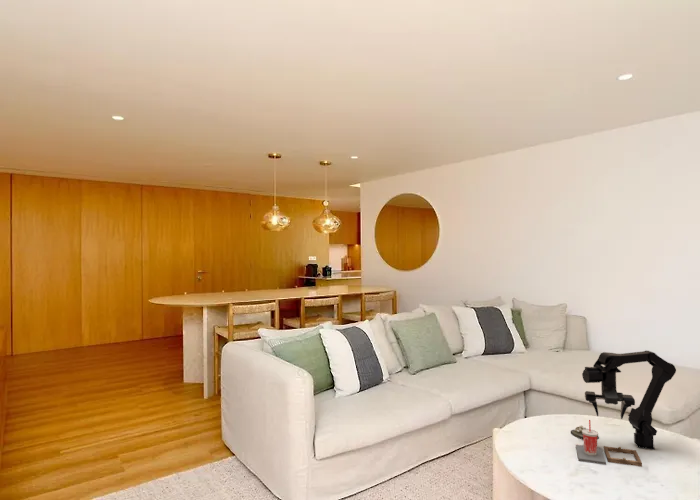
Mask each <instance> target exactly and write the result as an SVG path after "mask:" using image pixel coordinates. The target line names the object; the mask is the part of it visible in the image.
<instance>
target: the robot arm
mask: <svg viewBox="0 0 700 500" xmlns="http://www.w3.org/2000/svg"><path fill="white" fill-rule="evenodd" d="M643 362H644V363H645V362H647V363H648V364H649V365H651V366H652V367H651V376H652V377H651V379H650V382H649V384H648V386H647V387H646V391H645V392H644V394H643V397H642V399H641V400H640V404H639V405H638V407H636V408H633V407H632V406H636V401H635V400H636V399H635V398H634V396H633V394H632V395H631V394H624V393H623V392H618V390H617V374H618V373H622V371H621V369H620V368H619V367H622V366H623V365H626V364H634V363H643ZM676 372H677V368H676V367H675V365H674V364H673V363H671V362H668V361H667V360H665V359H664V358H662V357H660V356H659V355H658V354H657V353H656V352H653V351H650V350H643V351H635V352H625V353H614V352H605V351H604V352H600V355H599V356H598V358H597V360H596V361H595V362H594V364H593V366H584V369H583V371H582V374H581V375H582V379H583V381H584V383H586V384H591V383H593V384H595V383H597V384H598V383H601V384H600V385H601V386H600V387H601V394H596V392H595V391H590V390H586V391H585V392H584V398H585V401H587V402H589V403H590V404H592V406H593V408H594V411H595V413H596V416H597V417H599V410H598V409H599V408H598V404H597V403H598V402H597V400H602V401H603V400H604V403H605V404H606V405H607V404H608V405H609V404H610V405H612V404H613V405H615V406H616V405H618V404H619V402H621V404H620V419H621V420H623V419H624V418H623V417H624V415H625V413H626V410H628V408H629V407H632V408H631V409H630V412H629V414H627V416H628V422H629V424H630V425H631V427H632V428H633V429H634V430H635V432H633V442H634V444H635V445H636V447H637V448H638V449H639V448H640V449H648V450H655V445H654V436H656V435H657V432H658V430H657V429H656V428H655V427H654V426H652V424H653V415H652V413H653V410H654V408H655V405H656V404H657V402H658V399H659V397H660V395H661V393H662V390H663V388H664V386H665V385H666V383H667V382H669V381H671V380H672V379H673V377H674V375H675V374H676Z"/></svg>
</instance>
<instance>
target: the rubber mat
mask: <svg viewBox="0 0 700 500" xmlns="http://www.w3.org/2000/svg"><path fill="white" fill-rule="evenodd" d="M575 450H576V454H577V455H576V456H577V460H578V462H583V463H584V462H585V463H593V464H599V465H607V462H606V460H607V459H606V458H605V457H606V456H605V453H604V450H603V448H602V447H598V446H597V454H596V455H588V454H586V453H585V452H584V444H583V445H582V444H575Z"/></svg>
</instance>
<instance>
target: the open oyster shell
mask: <svg viewBox="0 0 700 500" xmlns="http://www.w3.org/2000/svg"><path fill="white" fill-rule="evenodd" d="M583 429H587V428H586V427H584V426H583V425H579V426H576V427H575V428H574V429H572V430H570V434H571V436H574V437H576V438H577V439H579V440H582V441H583V434H582V430H583ZM599 439H600V436H598V437H597V441H598V440H599Z"/></svg>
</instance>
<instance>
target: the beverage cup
mask: <svg viewBox="0 0 700 500" xmlns="http://www.w3.org/2000/svg"><path fill="white" fill-rule="evenodd" d="M588 427H589V428H586V429H583V430H582V434H583V440H582V441H583V446H584V452H585V453H586V454H588V455H596V454H597V447H598V440H597V437H599V432H598V431H596V430H595V429H591V428H592V427H591V419H589V420H588Z"/></svg>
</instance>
